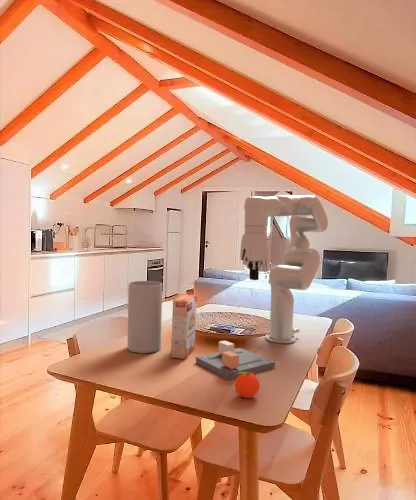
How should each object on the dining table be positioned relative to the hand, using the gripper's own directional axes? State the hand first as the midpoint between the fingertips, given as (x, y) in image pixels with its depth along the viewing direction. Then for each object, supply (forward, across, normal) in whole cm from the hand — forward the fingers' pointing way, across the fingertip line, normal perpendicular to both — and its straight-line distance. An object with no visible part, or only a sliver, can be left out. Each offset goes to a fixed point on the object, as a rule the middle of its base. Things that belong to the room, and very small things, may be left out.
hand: (253, 279), depth 153 cm
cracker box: (+27, +23, -13) cm, 38 cm away
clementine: (+27, +30, +28) cm, 49 cm away
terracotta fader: (+24, +22, +12) cm, 35 cm away
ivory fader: (+25, +15, +2) cm, 29 cm away
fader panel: (+27, +15, +7) cm, 32 cm away
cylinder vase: (+27, +33, -25) cm, 49 cm away
